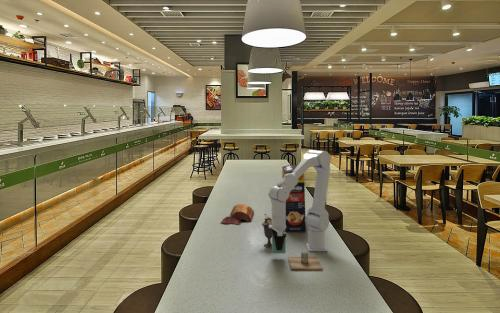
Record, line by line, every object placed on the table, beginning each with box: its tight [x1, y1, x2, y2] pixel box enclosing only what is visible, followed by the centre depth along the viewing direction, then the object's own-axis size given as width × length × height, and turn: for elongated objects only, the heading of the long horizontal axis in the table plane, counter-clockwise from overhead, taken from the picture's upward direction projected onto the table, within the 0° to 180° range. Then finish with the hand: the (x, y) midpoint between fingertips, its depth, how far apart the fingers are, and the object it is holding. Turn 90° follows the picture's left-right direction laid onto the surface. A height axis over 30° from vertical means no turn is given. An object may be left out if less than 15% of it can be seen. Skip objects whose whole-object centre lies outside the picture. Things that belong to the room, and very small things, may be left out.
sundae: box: [261, 213, 273, 249], centre depth 169 cm, size 7×7×15 cm
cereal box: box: [281, 164, 307, 233], centre depth 201 cm, size 27×11×32 cm, turn 177°
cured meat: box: [220, 203, 255, 226], centre depth 215 cm, size 18×25×7 cm
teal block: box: [271, 235, 287, 254], centre depth 154 cm, size 5×5×6 cm
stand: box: [287, 250, 324, 272], centre depth 148 cm, size 12×12×5 cm
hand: (278, 247), depth 154 cm, fingers closed on teal block, 5 cm apart
